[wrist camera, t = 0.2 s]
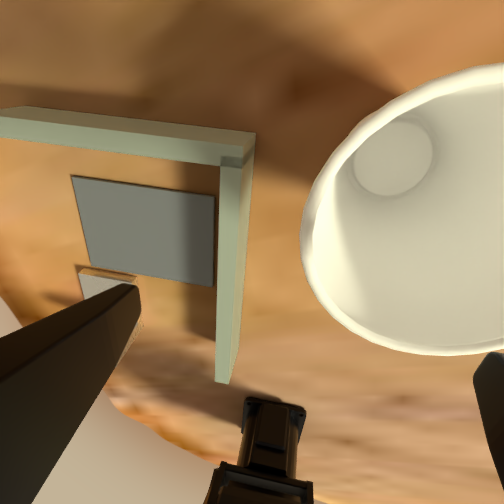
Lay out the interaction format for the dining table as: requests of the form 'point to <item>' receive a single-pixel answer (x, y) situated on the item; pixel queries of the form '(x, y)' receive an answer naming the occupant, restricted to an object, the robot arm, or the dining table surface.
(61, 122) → the corner frame
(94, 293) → the bracket
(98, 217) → the pad
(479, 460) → the dining table surface
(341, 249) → the cup
